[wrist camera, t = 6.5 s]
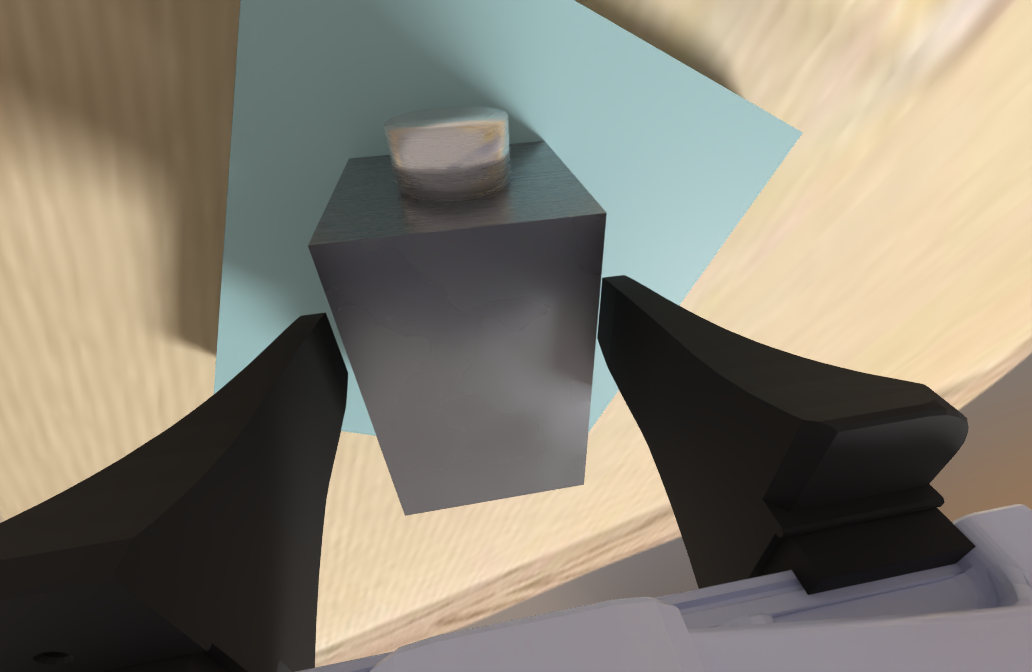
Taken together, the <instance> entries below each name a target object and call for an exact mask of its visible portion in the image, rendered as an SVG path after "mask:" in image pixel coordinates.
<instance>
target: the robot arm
mask: <svg viewBox="0 0 1032 672" xmlns="http://www.w3.org/2000/svg"><path fill="white" fill-rule="evenodd" d="M597 339H598V342H599V345H600V348H601V351H602V354H603V357H604V359H605V362H606V365H607V367H608V369H609V371H610V373H611V375H612V377H613V379H614V381H615V383H616V385H617V387H618V389H619V391H620V392H621V394H622V396H623V398H624V400H625V402H626V404H627V405H628V407H629V409H630V411H631V413H632V415H633V417H634V419H635V420H636V422H637V424H638V426H639V428H640V430H641V432H642V434H643V436H644V438H645V440H646V442H647V444H648V446H649V449H650V451H651V454H652V456H653V459H654V461H655V464H656V467H657V469H658V472H659V474H660V477H661V479H662V482H663V485H664V487H665V490H666V493H667V495H668V498H669V501H670V503H671V506H672V509H673V512H674V514H675V517H676V520H677V523H678V526H679V529H680V532H681V535H682V538H683V541H684V544H685V547H686V550H687V553H688V556H689V558H690V562H691V565H692V569H693V572H694V575H695V578H696V581H697V584H698V587H699V589H696V590H691V591H686V592H682V593H676V594H672V595H667V596H662V597H657V598H650V597H637V598H626V599H614V600H609V601H604V602H599V603H594V604H590V605H584V606H580V607H575V608H570V609H565V610H560V611H555V612H550V613H545V614H541V615H535V616H530V617H526V618H521V619H516V620H511V621H506V622H501V623H496V624H492V625H486V626H481V627H477V628H472V629H467V630H462V631H457V632H452V633H447V634H442V635H437V636H434V637H430V638H427V639H424V640H421V641H418V642H415V643H412V644H408V645H405V646H402V647H399V648H398V649H397V650H395V651H394V652H389V653H384V654H380V655H375V656H370V657H365V658H360V659H355V660H350V661H346V662H341V663H336V664H331V665H326V666H321V667H316V668H315V643H316V617H317V600H318V583H319V569H320V557H321V545H322V534H323V525H324V516H325V506H326V498H327V492H328V487H329V481H330V477H331V473H332V468H333V464H334V459H335V455H336V450H337V446H338V442H339V437H340V433H341V428H342V424H343V419H344V414H345V409H346V402H347V389H348V371H347V368H346V365H345V363H344V360H343V357H342V355H341V352H340V349H339V347H338V344H337V341H336V338H335V336H334V333H333V330H332V328H331V325H330V322H329V320H328V317H327V314H326V313H318V314H310V315H302V316H300V317H299V318H297V319H296V320H295V321H294V322H293V323H292V324H291V325H289V326H288V327H287V328H286V329H285V330H284V331H283V332H282V333H281V334H280V335H279V336H278V337H277V338H276V339H275V340H274V341H273V342H272V343H271V344H270V345H269V346H268V347H267V348H265V349H264V350H263V351H262V352H261V353H260V354H259V355H258V356H257V357H256V358H255V359H254V360H253V361H252V362H251V363H250V364H249V365H247V366H246V367H245V368H244V369H243V370H242V371H241V372H239V373H238V374H237V375H236V376H235V377H234V378H233V379H231V380H230V381H229V382H228V383H227V384H226V385H224V386H223V387H222V388H221V389H220V390H219V391H218V392H216V393H215V394H214V395H213V396H212V397H210V398H209V399H208V400H207V401H205V402H204V403H203V404H201V405H200V406H199V407H197V408H196V409H195V410H193V411H192V412H191V413H189V414H188V415H187V416H185V417H184V418H182V419H181V420H180V421H178V422H177V423H176V424H174V425H173V426H171V427H170V428H168V429H167V430H166V431H164V432H162V433H161V434H159V435H158V436H156V437H155V438H153V439H152V440H150V441H148V442H147V443H145V444H144V445H142V446H141V447H139V448H137V449H136V450H134V451H133V452H131V453H130V454H128V455H127V456H125V457H123V458H122V459H120V460H119V461H117V462H115V463H113V464H112V465H110V466H108V467H107V468H105V469H103V470H101V471H100V472H98V473H96V474H94V475H93V476H91V477H89V478H87V479H86V480H84V481H82V482H80V483H78V484H76V485H74V486H73V487H71V488H69V489H67V490H65V491H63V492H62V493H60V494H58V495H56V496H54V497H52V498H50V499H48V500H46V501H44V502H43V503H41V504H39V505H37V506H34V507H32V508H30V509H28V510H26V511H24V512H22V513H20V514H18V515H16V516H14V517H12V518H10V519H8V520H6V521H4V522H2V523H0V672H1032V510H1030V509H1029V508H1028V507H1027V506H1026V505H1020V504H1016V505H1011V506H1006V507H1001V508H996V509H991V510H986V511H981V512H976V513H972V514H968V515H965V516H963V517H961V518H959V519H957V520H955V521H953V522H951V521H950V520H949V519H948V518H947V517H946V516H945V515H944V514H943V513H942V512H940V510H939V509H938V508H937V507H941V506H942V505H943V503H944V499H943V497H942V496H941V495H940V494H939V493H938V492H937V491H936V490H935V489H934V488H933V487H932V486H930V484H929V483H930V482H931V481H932V480H933V479H934V478H935V477H936V475H937V474H938V473H939V472H940V471H941V470H942V469H943V468H944V466H945V465H946V464H947V463H948V462H949V461H950V460H951V459H952V457H953V456H954V455H955V454H956V453H957V451H958V450H959V449H960V447H961V446H962V445H963V443H964V441H965V439H966V436H967V433H968V422H967V418H966V417H965V416H964V415H963V414H961V413H960V412H959V411H958V410H957V409H955V408H954V407H953V406H951V405H950V404H949V403H948V402H946V401H945V400H944V399H943V398H941V397H940V396H939V395H938V394H936V393H935V392H934V391H932V390H931V389H930V388H929V387H927V386H926V385H924V384H920V383H914V382H909V381H904V380H898V379H893V378H888V377H883V376H877V375H872V374H867V373H862V372H857V371H853V370H849V369H845V368H841V367H837V366H833V365H829V364H825V363H821V362H817V361H814V360H810V359H807V358H803V357H800V356H797V355H794V354H791V353H787V352H784V351H781V350H778V349H775V348H772V347H769V346H766V345H764V344H761V343H758V342H756V341H753V340H751V339H748V338H746V337H743V336H741V335H738V334H736V333H733V332H731V331H729V330H726V329H724V328H722V327H720V326H718V325H716V324H713V323H711V322H709V321H707V320H705V319H703V318H701V317H699V316H697V315H695V314H694V313H692V312H690V311H688V310H686V309H684V308H682V307H681V306H679V305H677V304H675V303H673V302H672V301H670V300H668V299H666V298H665V297H663V296H661V295H659V294H658V293H656V292H654V291H653V290H651V289H649V288H648V287H646V286H644V285H642V284H641V283H639V282H637V281H635V280H633V279H632V278H630V277H628V276H625V275H620V276H612V277H604V278H602V287H601V299H600V311H599V323H598V334H597Z"/></svg>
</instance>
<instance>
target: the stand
mask: <svg viewBox="0 0 1032 672" xmlns="http://www.w3.org/2000/svg"><path fill="white" fill-rule="evenodd" d="M455 106H477V107H489V108H495V109H499V110H502V111H504V112H506V113H507V114H508V128H509V144H514V143H525V142H537V141H545V142H546V143H547V144H548V145H549V146H550V148H551V149H552V150H553V151H554V152H555V153H556V154H557V156H558V157H559V158H560V159H561V160H562V161H563V163H564V164H565V165H566V166H567V167H568V168H569V170H570V171H571V172H572V173H573V174H574V175H575V177H576V178H577V179H578V180H579V181H580V182H581V183H582V185H583V186H584V187H585V188H586V189H587V190H588V192H589V193H590V194H591V195H592V196H593V197H594V199H595V200H596V201H597V202H598V203H599V204H600V206H601V207H602V208H603V209H604V210H605V211H606V213H607V216H606V228H605V239H604V251H603V263H602V275H601V287H602V278H604V277H612V276H620V275H625V276H628V277H630V278H632V279H633V280H635V281H637V282H639V283H641V284H642V285H644V286H646V287H648V288H649V289H651V290H653V291H654V292H656V293H658V294H659V295H661V296H663V297H665V298H666V299H668V300H670V301H672V302H673V303H675V304H677V305H680V304H681V302H682V301H683V300H684V298H685V297H686V295H687V294H688V293H689V291H690V290H691V288H692V287H693V286H694V284H695V283H696V281H697V280H698V279H699V277H700V276H701V274H702V273H703V272H704V270H705V269H706V267H707V266H708V265H709V263H710V262H711V260H712V259H713V258H714V256H715V255H716V253H717V252H718V251H719V249H720V248H721V246H722V245H723V244H724V242H725V241H726V239H727V238H728V237H729V235H730V234H731V232H732V231H733V230H734V228H735V227H736V225H737V224H738V223H739V221H740V220H741V218H742V217H743V216H744V214H745V213H746V211H747V210H748V209H749V207H750V206H751V205H752V203H753V202H754V200H755V199H756V198H757V196H758V195H759V193H760V192H761V191H762V189H763V188H764V186H765V185H766V184H767V182H768V181H769V179H770V178H771V177H772V175H773V174H774V172H775V171H776V170H777V168H778V167H779V165H780V164H781V163H782V161H783V160H784V158H785V157H786V156H787V154H788V153H789V151H790V150H791V149H792V147H793V146H794V144H795V143H796V142H797V140H798V139H799V137H800V136H801V135H802V132H801V131H799V130H797V129H796V128H794V127H792V126H790V125H789V124H787V123H785V122H783V121H782V120H780V119H778V118H777V117H775V116H773V115H771V114H770V113H768V112H766V111H764V110H763V109H761V108H759V107H758V106H756V105H754V104H752V103H751V102H749V101H747V100H745V99H744V98H742V97H740V96H739V95H737V94H735V93H733V92H732V91H730V90H728V89H727V88H725V87H723V86H721V85H720V84H718V83H716V82H714V81H713V80H711V79H709V78H708V77H706V76H704V75H702V74H701V73H699V72H697V71H695V70H694V69H692V68H690V67H689V66H687V65H685V64H683V63H682V62H680V61H678V60H676V59H675V58H673V57H671V56H670V55H668V54H666V53H664V52H663V51H661V50H659V49H657V48H656V47H654V46H652V45H651V44H649V43H647V42H645V41H644V40H642V39H640V38H639V37H637V36H635V35H633V34H632V33H630V32H628V31H626V30H625V29H623V28H621V27H620V26H618V25H616V24H614V23H613V22H611V21H609V20H607V19H606V18H604V17H602V16H601V15H599V14H597V13H595V12H594V11H592V10H590V9H588V8H587V7H585V6H583V5H582V4H580V3H578V2H576V1H575V0H240V15H239V30H238V45H237V59H236V74H235V89H234V104H233V119H232V133H231V148H230V163H229V178H228V192H227V207H226V222H225V237H224V251H223V266H222V281H221V296H220V311H219V325H218V340H217V355H216V370H215V384H214V394H215V393H216V392H218V391H219V390H220V389H221V388H222V387H223V386H224V385H226V384H227V383H228V382H229V381H230V380H231V379H233V378H234V377H235V376H236V375H237V374H238V373H239V372H241V371H242V370H243V369H244V368H245V367H246V366H247V365H249V364H250V363H251V362H252V361H253V360H254V359H255V358H256V357H257V356H258V355H259V354H260V353H261V352H262V351H263V350H264V349H265V348H267V347H268V346H269V345H270V344H271V343H272V342H273V341H274V340H275V339H276V338H277V337H278V336H279V335H280V334H281V333H282V332H283V331H284V330H285V329H286V328H287V327H288V326H289V325H291V324H292V323H293V322H294V321H295V320H296V319H297V318H299V317H300V316H302V315H310V314H318V313H326V314H327V317H328V320H329V322H330V325H331V328H332V330H333V333H334V336H335V338H336V341H337V344H338V347H339V349H340V352H341V355H342V357H343V360H344V363H345V365H346V368H347V371H348V389H347V402H346V409H345V414H344V419H343V424H342V428H341V431H346V432H353V433H360V434H367V435H374V436H376V433H375V431H374V428H373V425H372V422H371V420H370V417H369V414H368V411H367V408H366V406H365V403H364V400H363V397H362V395H361V392H360V389H359V386H358V383H357V381H356V378H355V375H354V372H353V370H352V367H351V364H350V361H349V359H348V356H347V353H346V350H345V347H344V345H343V342H342V339H341V336H340V334H339V331H338V328H337V325H336V322H335V320H334V317H333V314H332V311H331V309H330V306H329V303H328V300H327V298H326V295H325V292H324V289H323V286H322V284H321V281H320V278H319V275H318V273H317V270H316V267H315V264H314V261H313V259H312V256H311V253H310V250H309V248H308V244H309V242H310V240H311V238H312V235H313V233H314V231H315V229H316V227H317V225H318V223H319V221H320V219H321V216H322V214H323V212H324V210H325V208H326V206H327V204H328V202H329V200H330V197H331V195H332V193H333V191H334V189H335V187H336V185H337V183H338V181H339V178H340V176H341V174H342V172H343V170H344V168H345V166H346V164H347V162H348V159H349V158H360V157H371V156H382V155H390V153H389V148H388V143H387V139H386V134H385V129H384V123H385V122H386V121H387V120H389V119H390V118H393V117H395V116H398V115H401V114H404V113H408V112H413V111H418V110H424V109H431V108H440V107H455ZM601 287H600V299H601ZM600 299H599V311H600ZM599 311H598V322H597V334H598V323H599ZM597 334H596V346H595V358H594V370H593V382H592V394H591V405H590V417H589V429H588V432H589V431H590V429H591V428H592V427H593V425H594V424H595V422H596V421H597V420H598V418H599V417H600V416H601V414H602V413H603V411H604V410H605V409H606V407H607V406H608V404H609V403H610V402H611V400H612V399H613V397H614V396H615V395H616V393H617V392H618V390H619V389H618V387H617V385H616V383H615V381H614V379H613V377H612V375H611V373H610V371H609V369H608V367H607V365H606V362H605V359H604V357H603V354H602V351H601V348H600V345H599V342H598V339H597Z"/></svg>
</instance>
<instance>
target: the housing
mask: <svg viewBox="0 0 1032 672" xmlns="http://www.w3.org/2000/svg"><path fill="white" fill-rule="evenodd" d="M384 129H385V134H386V139H387V143H388V148H389V153H390V155H382V156H371V157H360V158H349V159H348V162H347V164H346V166H345V168H344V170H343V172H342V174H341V176H340V178H339V181H338V183H337V185H336V187H335V189H334V191H333V193H332V195H331V197H330V200H329V202H328V204H327V206H326V208H325V210H324V212H323V214H322V216H321V219H320V221H319V223H318V225H317V227H316V229H315V231H314V233H313V235H312V238H311V240H310V242H309V244H308V248H309V250H310V253H311V256H312V259H313V261H314V264H315V267H316V270H317V273H318V275H319V278H320V281H321V284H322V286H323V289H324V292H325V295H326V298H327V300H328V303H329V306H330V309H331V311H332V314H333V317H334V320H335V322H336V325H337V328H338V331H339V334H340V336H341V339H342V342H343V345H344V347H345V350H346V353H347V356H348V359H349V361H350V364H351V367H352V370H353V372H354V375H355V378H356V381H357V383H358V386H359V389H360V392H361V395H362V397H363V400H364V403H365V406H366V408H367V411H368V414H369V417H370V420H371V422H372V425H373V428H374V431H375V433H376V436H377V439H378V442H379V444H380V447H381V450H382V453H383V456H384V458H385V461H386V464H387V467H388V469H389V472H390V475H391V478H392V481H393V483H394V486H395V489H396V492H397V494H398V497H399V500H400V503H401V505H402V508H403V511H404V514H405V516H406V515H412V514H417V513H423V512H429V511H435V510H440V509H446V508H452V507H458V506H463V505H469V504H475V503H480V502H486V501H492V500H498V499H503V498H509V497H515V496H521V495H526V494H532V493H538V492H544V491H549V490H555V489H561V488H567V487H572V486H578V485H584V477H585V465H586V453H587V441H588V429H589V417H590V405H591V394H592V382H593V370H594V358H595V346H596V334H597V322H598V311H599V299H600V287H601V275H602V263H603V251H604V239H605V228H606V216H607V213H606V211H605V210H604V209H603V208H602V207H601V206H600V204H599V203H598V202H597V201H596V200H595V199H594V197H593V196H592V195H591V194H590V193H589V192H588V190H587V189H586V188H585V187H584V186H583V185H582V183H581V182H580V181H579V180H578V179H577V178H576V177H575V175H574V174H573V173H572V172H571V171H570V170H569V168H568V167H567V166H566V165H565V164H564V163H563V161H562V160H561V159H560V158H559V157H558V156H557V154H556V153H555V152H554V151H553V150H552V149H551V148H550V146H549V145H548V144H547V143H546V142H545V141H537V142H525V143H514V144H509V128H508V114H507V113H506V112H504V111H502V110H499V109H495V108H489V107H477V106H455V107H440V108H431V109H424V110H418V111H413V112H408V113H404V114H401V115H398V116H395V117H393V118H390V119H389V120H387V121H386V122H385V123H384Z"/></svg>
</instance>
